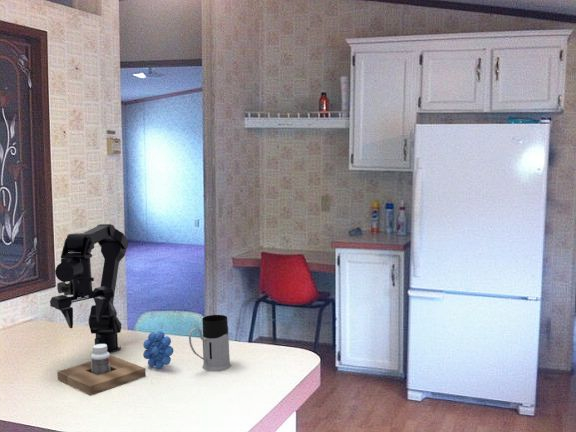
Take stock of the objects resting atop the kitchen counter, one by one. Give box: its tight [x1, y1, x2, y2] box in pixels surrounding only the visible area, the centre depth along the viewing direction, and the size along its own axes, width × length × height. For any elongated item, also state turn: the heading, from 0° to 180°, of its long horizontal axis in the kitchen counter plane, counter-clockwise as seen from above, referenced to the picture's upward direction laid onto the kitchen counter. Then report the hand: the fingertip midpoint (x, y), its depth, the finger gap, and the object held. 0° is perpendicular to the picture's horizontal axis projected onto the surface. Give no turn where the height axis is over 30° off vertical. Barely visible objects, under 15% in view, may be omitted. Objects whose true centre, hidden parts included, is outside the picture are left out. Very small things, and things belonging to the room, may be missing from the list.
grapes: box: [142, 330, 174, 370], centre depth 198 cm, size 12×7×12 cm, turn 58°
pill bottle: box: [90, 344, 111, 376], centre depth 191 cm, size 5×5×10 cm
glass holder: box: [188, 314, 232, 372], centre depth 196 cm, size 9×14×15 cm, turn 137°
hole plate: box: [56, 354, 147, 396], centre depth 192 cm, size 18×18×2 cm
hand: (84, 324), depth 201 cm, fingers open, 9 cm apart
